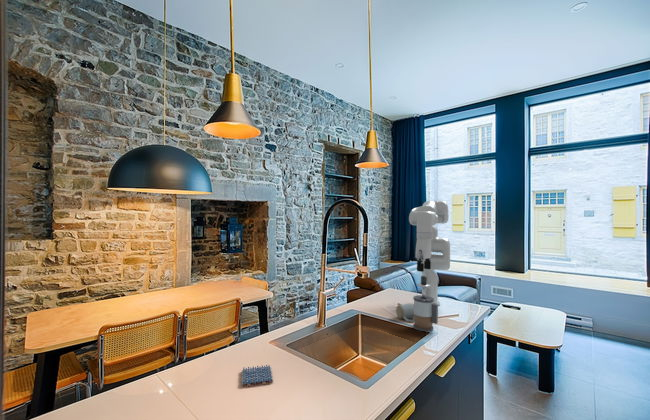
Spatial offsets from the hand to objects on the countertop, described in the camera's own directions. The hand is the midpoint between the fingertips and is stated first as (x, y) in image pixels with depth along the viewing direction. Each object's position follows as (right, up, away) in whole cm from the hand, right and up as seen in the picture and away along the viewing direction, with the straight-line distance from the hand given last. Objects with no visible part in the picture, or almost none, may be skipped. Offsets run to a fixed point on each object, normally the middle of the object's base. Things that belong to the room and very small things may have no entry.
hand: (423, 270), depth 147 cm
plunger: (0, -16, 0) cm, 16 cm away
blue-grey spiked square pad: (-73, -28, -47) cm, 91 cm away
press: (0, -29, 0) cm, 29 cm away
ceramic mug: (-5, -29, +13) cm, 32 cm away
